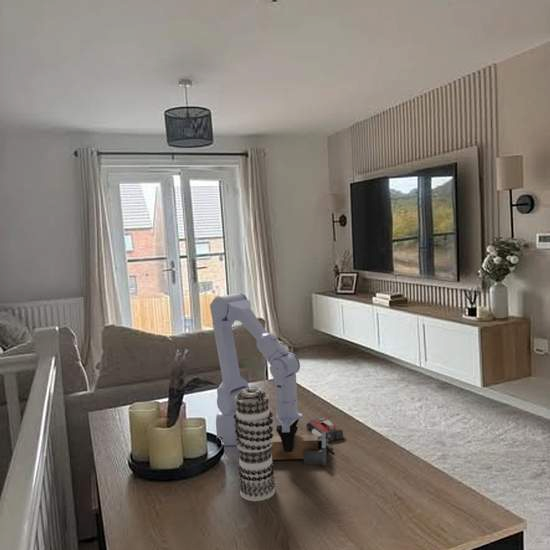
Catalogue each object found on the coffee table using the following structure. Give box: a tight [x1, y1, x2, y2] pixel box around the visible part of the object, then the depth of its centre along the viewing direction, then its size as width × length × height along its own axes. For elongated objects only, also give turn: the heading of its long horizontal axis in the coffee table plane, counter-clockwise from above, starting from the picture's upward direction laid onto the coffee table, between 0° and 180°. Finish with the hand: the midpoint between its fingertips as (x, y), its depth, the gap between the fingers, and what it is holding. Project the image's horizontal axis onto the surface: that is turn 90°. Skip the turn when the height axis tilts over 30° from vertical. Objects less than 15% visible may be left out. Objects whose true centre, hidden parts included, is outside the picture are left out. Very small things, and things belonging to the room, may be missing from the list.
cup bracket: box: [302, 432, 327, 467], centre depth 139 cm, size 6×10×5 cm, turn 175°
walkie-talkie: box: [306, 416, 344, 451], centre depth 152 cm, size 9×4×20 cm
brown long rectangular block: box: [271, 434, 319, 461], centre depth 140 cm, size 16×4×5 cm, turn 85°
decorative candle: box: [233, 386, 276, 502], centre depth 122 cm, size 9×9×25 cm
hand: (289, 447), depth 140 cm, fingers open, 4 cm apart
